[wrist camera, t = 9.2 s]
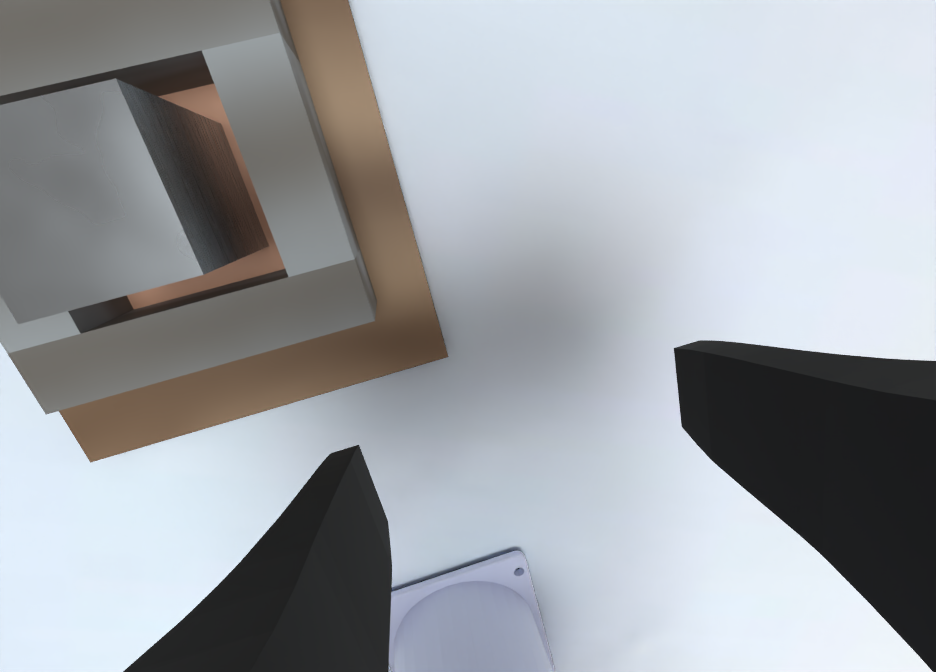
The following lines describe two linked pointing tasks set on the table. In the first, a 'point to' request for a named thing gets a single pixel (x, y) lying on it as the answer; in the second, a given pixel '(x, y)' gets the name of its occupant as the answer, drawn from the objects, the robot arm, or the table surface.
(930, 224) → the table surface
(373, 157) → the well board
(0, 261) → the steel block
